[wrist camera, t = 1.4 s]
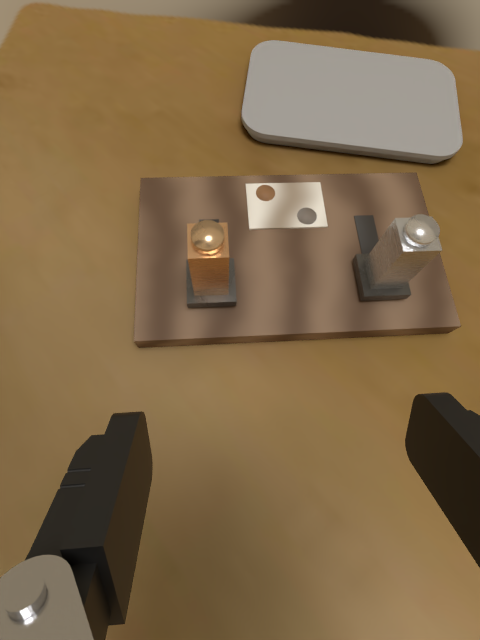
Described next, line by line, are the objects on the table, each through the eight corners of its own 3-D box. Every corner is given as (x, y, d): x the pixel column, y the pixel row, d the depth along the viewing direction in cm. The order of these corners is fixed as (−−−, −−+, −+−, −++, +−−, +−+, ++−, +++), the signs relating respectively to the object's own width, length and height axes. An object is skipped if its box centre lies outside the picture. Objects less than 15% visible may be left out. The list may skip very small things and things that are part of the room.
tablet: (453, 173, 43) (465, 159, 41) (237, 146, 43) (238, 130, 41) (442, 79, 49) (452, 62, 47) (252, 55, 49) (253, 37, 47)
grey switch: (360, 300, 34) (401, 254, 26) (352, 259, 35) (388, 204, 27) (406, 299, 34) (460, 252, 26) (396, 258, 35) (444, 202, 28)
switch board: (138, 347, 34) (132, 340, 32) (144, 190, 40) (140, 175, 38) (448, 333, 36) (462, 325, 33) (407, 185, 42) (417, 170, 40)
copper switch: (187, 307, 33) (176, 262, 25) (187, 264, 34) (176, 209, 27) (236, 305, 33) (240, 259, 25) (233, 263, 35) (236, 207, 27)
